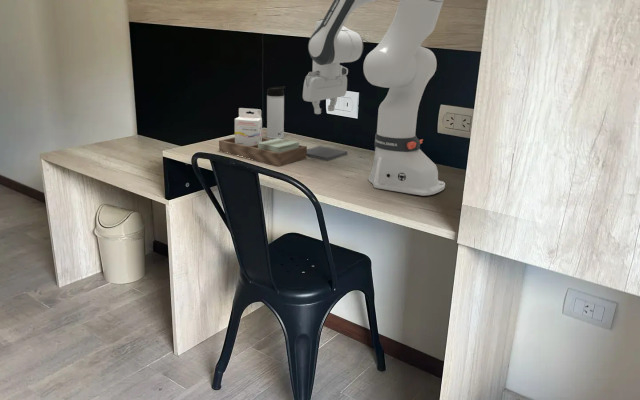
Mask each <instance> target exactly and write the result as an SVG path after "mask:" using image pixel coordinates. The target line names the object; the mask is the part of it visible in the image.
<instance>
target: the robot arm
mask: <svg viewBox="0 0 640 400" xmlns="http://www.w3.org/2000/svg"><path fill="white" fill-rule="evenodd" d="M376 1H377V0H333V1H332V3H331V5H330V6H329V9H328V10H327V12H326V14H325V15H324V18H321V19H318V21H316V22H315V26H314V31H313V33H312V34H311V36H310V38H309V40H308V44H307V50H308V54H309V56H310V58H311V59H312V71H308V74H306V76H305V78H304V82H303V89H302V99H303V101H305V102H311V103H312V106H313V111H314V115H315V114H316V115H321V113H322V108H320V103H321V101H324V100H329V101H330V102H329V105H327V111H328V112H335V110H336V109H335V106H336V104H337V102H338V98H340V97H344V96H345V95H346V93H347V89H348V77H347V75H348V73H349V69H348V68H347V67H345V66H343V65H341V64H344V63H353V62H356V61H358V60H359V59H361V56H362V54H363V51H364V40H363V37H362V36H361V35H360V34H359V32H358V31H355V30H351V29H349V28H348V27H346V26H345V23H346V22H347V20H348V19H349V17H350V15H351V14H352V13H353V12H354V11H355V10H357V9H358V8H361V7H362V6H364V5H368V4H369V3H370V4H371V3H373V2H376ZM443 4H444V0H399V2H398V5H397V8H396V10H395V11H396V12H395V15H394V17H393V19H392V21H391V24H390V25H389V27H388V29H387V31H386V32H385V34H384V36H383V37H382V39H381V40H380V41H379V43H378V44H377V45H376V47H374V48H373V49H372V50H371V51H370V52H369V53H367V54H366V56H365V59H364V61H363V75H364V77H365V79H366V80H367V82H368V83H370V84H371V85H372V86H376V87H380V88H386V89H387V88H388V91H387V95H386V96H385V98H384V99H383V101H381V103H380V104H379V107H378V110H377V111H378V112H377V113H378V114H377V123H376V124H377V125H376V126H377V127H376V133H375V134H374V135H375V136H374V156H373V161H372V168H371V171H370V173H369V176H368V181H369V183H371V185H372V186H373V187H374V188H375V189H381V190H386V191H392V192H398V193H403V194H404V193H405V194H410V195H416V196H417V195H418V196H423V197H424V196H431V195H435V194H437V193H440V192H442V191H443V190H444V189H445V188H446V183H445V182H444V181H442V180H439V171H438V167H437V165H436V164H435V162H433V161H432V160H431V159H430V158H429V157H428V156H427V155H426V154H425V153H424V152H423V151H422V149H420V148H421V144H423V141H424V139H423V138H422V139H419V138H418V137H417V135H416V131H417V130H416V129H417V120H418V119H417V118H418V111H419V106H420V104H421V103H420V102H421V100H422V96H423V94H424V91H425V89H426V86H427V84H428V83H429V81H430V80H431V79H432V77H433V76H434V75H435V72H436V71H437V65H438V64H437V63H438V62H437V58H436V55H435V53H434V52H433V51H432V50H431V49H429V48H426V47H424V46H422V44H423V42H424V41H425V40H426V39H427V38H428V36H430V35H431V34H432V33H433V32H434V30H435V28H436V25H437V22H438V19H439V16H440V12H441V10H442V8H443Z"/></svg>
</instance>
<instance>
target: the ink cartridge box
mask: <svg viewBox="0 0 640 400" xmlns="http://www.w3.org/2000/svg"><path fill="white" fill-rule="evenodd" d="M249 112H251V113H249ZM234 137H235V143H236V144H240V145H245V146H253V145H257V144H258V143H260V142H262V137H263V118H262V110H261V109H258V108H246V107H245V108H244V107H239V108H238V117H236V118H234Z"/></svg>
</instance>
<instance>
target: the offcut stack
mask: <svg viewBox="0 0 640 400" xmlns="http://www.w3.org/2000/svg"><path fill="white" fill-rule="evenodd" d="M299 145H300V142H299V141H294V140H288V139H284V138H283V139H280V138H277V139H273V140H269V141H264V142H260V143H258V148H259V149H263V150H268V151H272V152H277V153H281V152H285V151H288V150H292V149H296V148H299Z"/></svg>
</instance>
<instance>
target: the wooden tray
mask: <svg viewBox="0 0 640 400" xmlns="http://www.w3.org/2000/svg"><path fill="white" fill-rule="evenodd" d="M269 140H272V139H268V138H266V137H263V136H262V142H264V141H269ZM307 149H308V146H307V145H302V144H299V148H296V149H292V150H288V151H285V152H281V153H277V152H272V151H268V150H263V149H259V148H258V144H257V145H253V146H245V145H240V144H236V143H235V136H234V137H230V138H225V139H220V140H218V151H219V150H220V151H224V152H228V153H231V154H235V155H239V156H243V157H246V158H245V159H247V158H250V159H249V160H251V159H253V160H252V161H254V160H256V161H255V162H259V161H260V162H259V163H263V162H264V163H263V164H267V163H268V164H267V165H270V166H276V167H282V166H285V165H288V164H293V163H296V162H299V161H302V160H305V159H307V158H308V156H307ZM220 151H219V152H220ZM224 152H223V153H224ZM228 153H227V154H228ZM231 154H230V155H231ZM235 155H234V156H235ZM239 156H238V157H239ZM243 157H242V158H243Z"/></svg>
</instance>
